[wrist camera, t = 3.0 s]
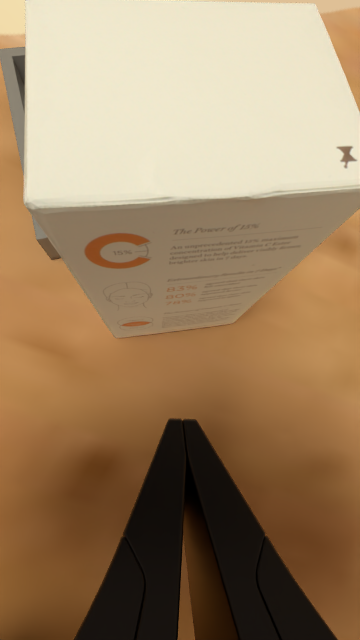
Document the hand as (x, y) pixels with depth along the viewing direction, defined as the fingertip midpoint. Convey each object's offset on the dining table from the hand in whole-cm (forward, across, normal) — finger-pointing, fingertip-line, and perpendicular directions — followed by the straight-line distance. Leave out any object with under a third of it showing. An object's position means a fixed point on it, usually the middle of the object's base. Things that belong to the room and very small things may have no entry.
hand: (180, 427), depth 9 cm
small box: (+12, 0, +1) cm, 12 cm away
